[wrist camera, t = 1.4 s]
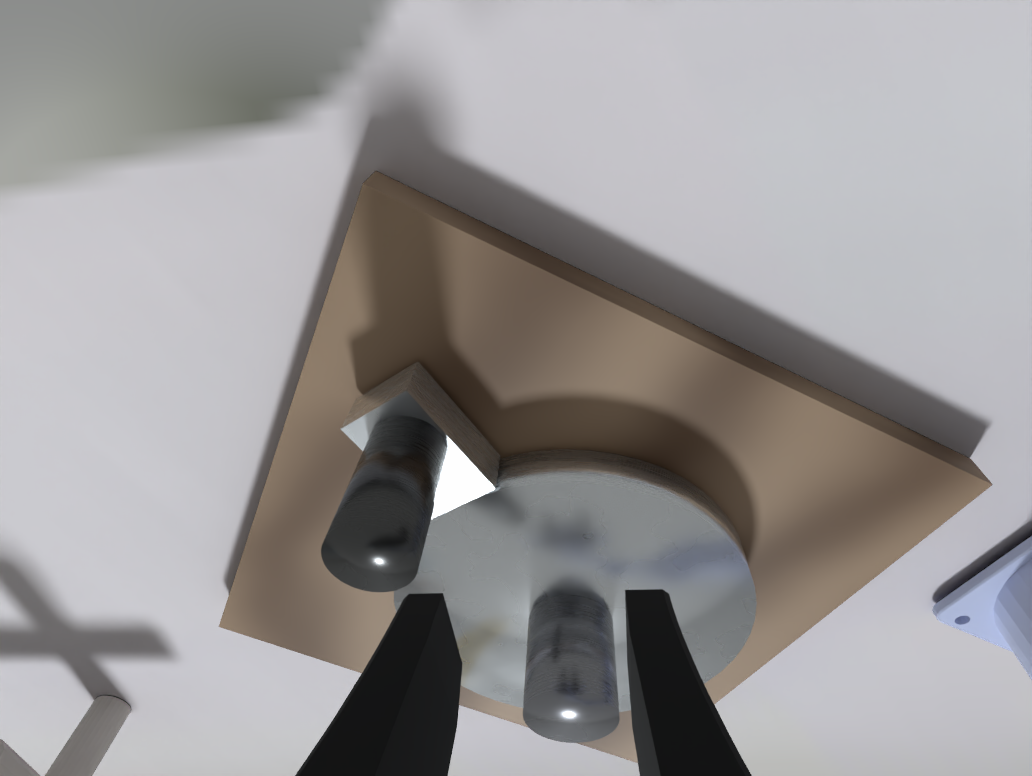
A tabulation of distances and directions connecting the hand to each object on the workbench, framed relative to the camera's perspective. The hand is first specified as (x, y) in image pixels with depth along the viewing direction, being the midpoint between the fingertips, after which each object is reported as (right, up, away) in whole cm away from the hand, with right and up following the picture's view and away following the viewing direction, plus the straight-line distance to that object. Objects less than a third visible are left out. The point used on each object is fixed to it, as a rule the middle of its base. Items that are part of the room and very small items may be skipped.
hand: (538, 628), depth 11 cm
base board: (+2, -2, +12) cm, 13 cm away
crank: (0, -1, +10) cm, 11 cm away
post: (+1, -4, +10) cm, 11 cm away
